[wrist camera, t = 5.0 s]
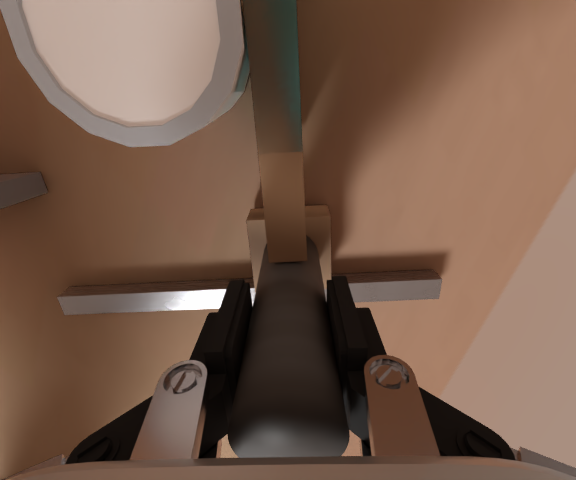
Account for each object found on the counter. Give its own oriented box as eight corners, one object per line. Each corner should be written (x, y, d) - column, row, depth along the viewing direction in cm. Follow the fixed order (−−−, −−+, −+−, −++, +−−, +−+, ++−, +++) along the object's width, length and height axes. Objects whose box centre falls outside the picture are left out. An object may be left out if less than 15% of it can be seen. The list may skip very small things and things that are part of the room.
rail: (431, 288, 20) (438, 298, 19) (76, 304, 21) (64, 315, 20) (433, 269, 19) (442, 279, 18) (69, 286, 20) (56, 297, 19)
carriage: (327, 271, 19) (373, 488, 8) (258, 274, 19) (214, 491, 8) (323, -52, 13) (490, -913, 2) (221, -43, 13) (-135, -797, 2)
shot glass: (289, 29, 14) (288, -32, 8) (225, 157, 17) (184, 187, 10) (152, -68, 13) (19, -235, 7) (104, 85, 16) (-28, 70, 9)
